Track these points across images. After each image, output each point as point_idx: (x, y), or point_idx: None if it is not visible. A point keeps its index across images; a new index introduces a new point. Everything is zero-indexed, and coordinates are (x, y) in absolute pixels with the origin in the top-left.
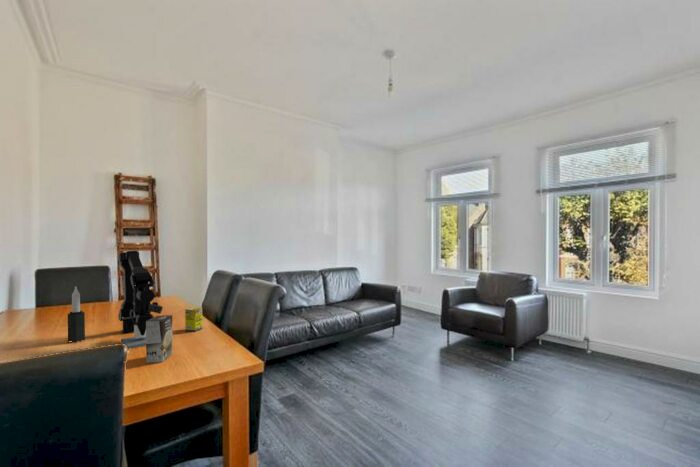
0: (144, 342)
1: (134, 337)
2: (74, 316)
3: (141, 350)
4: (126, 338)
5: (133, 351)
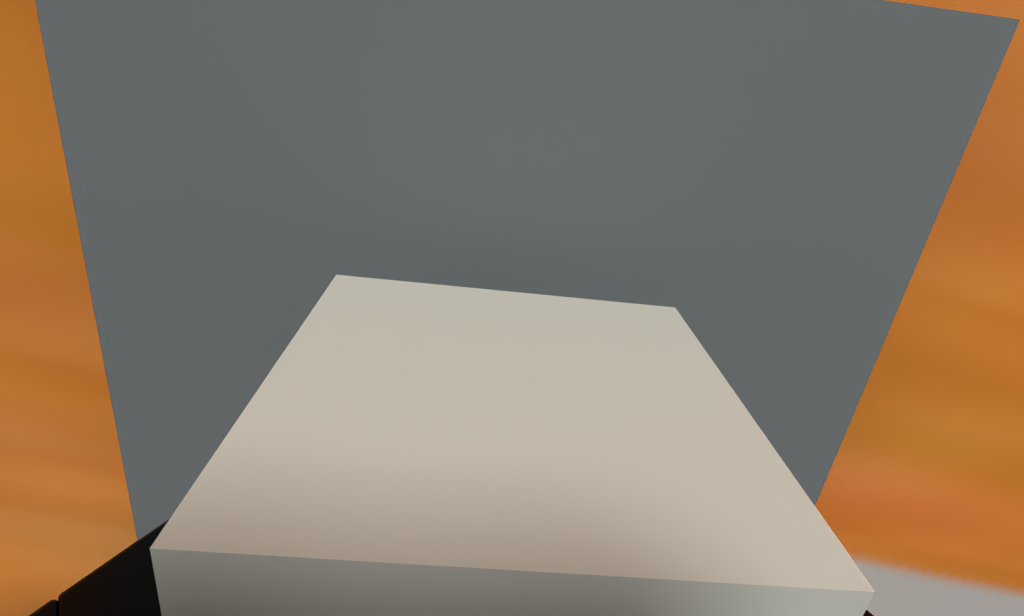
0: (799, 413)
1: (211, 447)
2: None
3: (1011, 491)
4: None
5: (930, 573)
